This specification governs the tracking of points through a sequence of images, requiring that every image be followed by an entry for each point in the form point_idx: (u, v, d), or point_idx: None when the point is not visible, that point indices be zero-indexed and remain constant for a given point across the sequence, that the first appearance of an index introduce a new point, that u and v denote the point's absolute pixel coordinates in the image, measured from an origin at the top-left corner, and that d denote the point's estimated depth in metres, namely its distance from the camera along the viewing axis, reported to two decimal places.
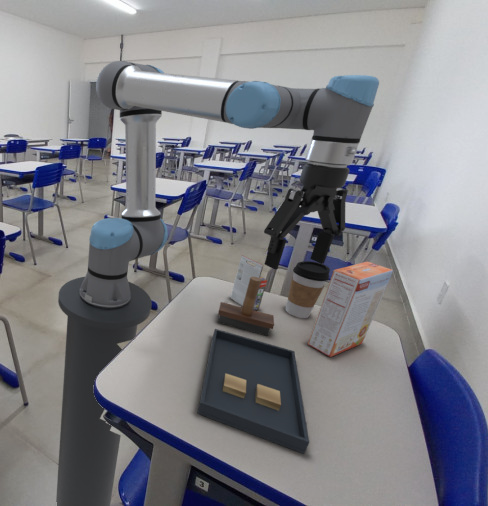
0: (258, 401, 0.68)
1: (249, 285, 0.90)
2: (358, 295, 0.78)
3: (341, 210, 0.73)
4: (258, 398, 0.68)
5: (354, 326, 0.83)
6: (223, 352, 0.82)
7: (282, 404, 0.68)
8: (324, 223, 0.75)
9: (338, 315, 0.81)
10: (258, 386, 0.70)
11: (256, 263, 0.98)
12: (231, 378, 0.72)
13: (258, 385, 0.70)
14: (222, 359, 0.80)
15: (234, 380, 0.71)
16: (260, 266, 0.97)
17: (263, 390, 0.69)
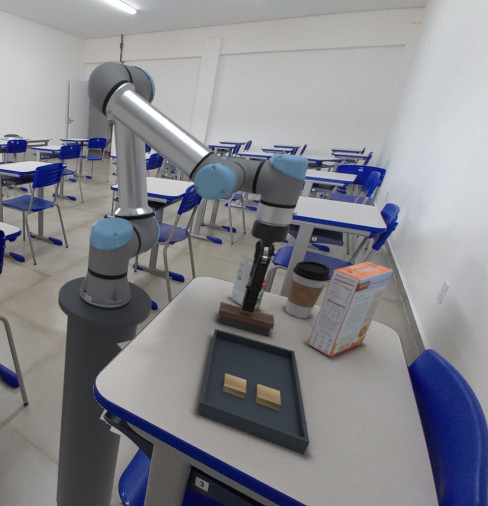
0: (258, 401, 0.68)
1: None
2: (357, 295, 0.78)
3: None
4: (258, 398, 0.68)
5: (354, 326, 0.83)
6: (223, 352, 0.82)
7: (282, 404, 0.68)
8: None
9: (338, 315, 0.81)
10: (258, 386, 0.70)
11: None
12: (231, 378, 0.72)
13: (258, 385, 0.70)
14: (222, 359, 0.80)
15: (234, 380, 0.71)
16: None
17: (263, 390, 0.69)
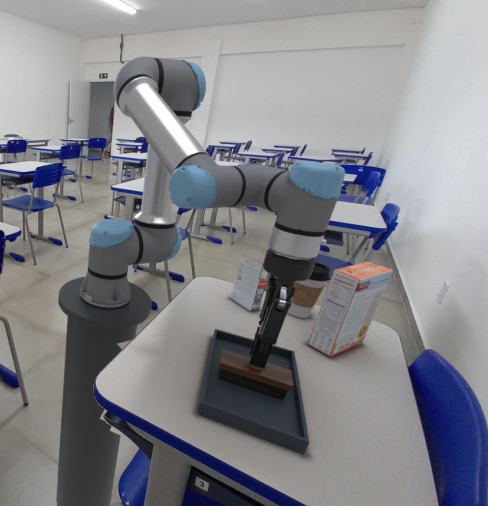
0: None
1: None
2: (357, 295, 0.78)
3: None
4: None
5: (354, 326, 0.83)
6: None
7: (282, 404, 0.68)
8: None
9: (338, 315, 0.81)
10: None
11: (256, 263, 0.98)
12: None
13: None
14: None
15: None
16: (260, 266, 0.97)
17: None
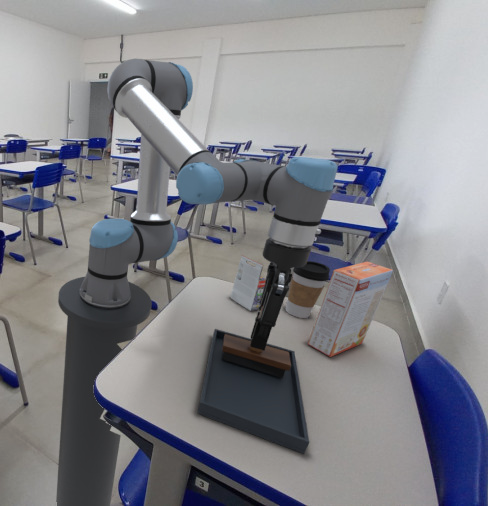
0: None
1: None
2: (357, 295, 0.78)
3: None
4: None
5: (354, 326, 0.83)
6: None
7: (282, 404, 0.68)
8: None
9: (338, 315, 0.81)
10: None
11: (256, 263, 0.98)
12: None
13: None
14: None
15: None
16: (260, 266, 0.97)
17: None
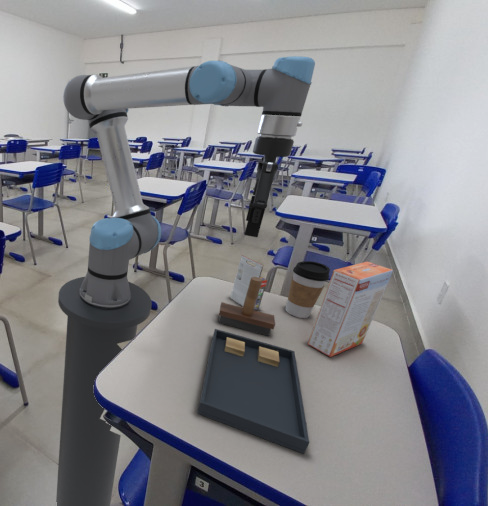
0: (260, 359, 0.79)
1: (250, 285, 0.90)
2: (357, 295, 0.78)
3: None
4: (260, 357, 0.79)
5: (354, 326, 0.83)
6: (223, 352, 0.82)
7: (282, 404, 0.68)
8: None
9: (338, 315, 0.81)
10: (260, 348, 0.82)
11: (256, 263, 0.98)
12: (231, 340, 0.84)
13: (260, 347, 0.82)
14: (222, 359, 0.80)
15: (234, 342, 0.83)
16: (260, 266, 0.97)
17: (264, 350, 0.81)
